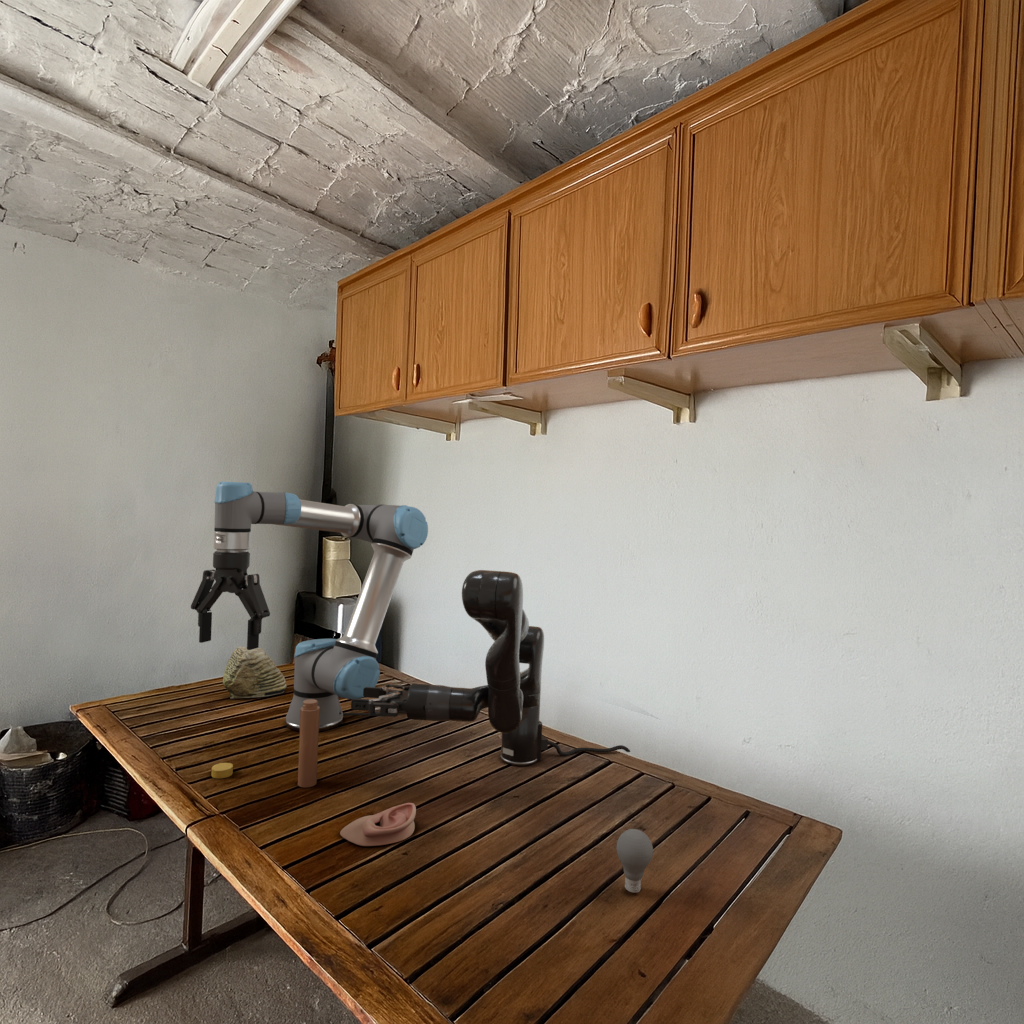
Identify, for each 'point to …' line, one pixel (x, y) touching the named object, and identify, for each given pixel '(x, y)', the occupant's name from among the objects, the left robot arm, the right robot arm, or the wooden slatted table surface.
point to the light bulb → (634, 857)
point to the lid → (222, 770)
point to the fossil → (252, 674)
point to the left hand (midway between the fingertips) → (228, 645)
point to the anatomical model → (382, 826)
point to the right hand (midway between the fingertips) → (357, 697)
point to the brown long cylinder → (308, 743)
